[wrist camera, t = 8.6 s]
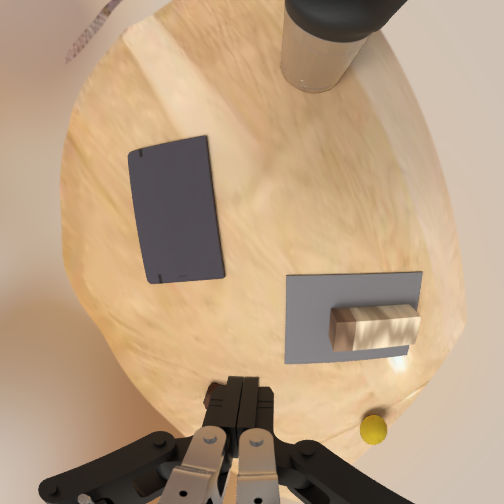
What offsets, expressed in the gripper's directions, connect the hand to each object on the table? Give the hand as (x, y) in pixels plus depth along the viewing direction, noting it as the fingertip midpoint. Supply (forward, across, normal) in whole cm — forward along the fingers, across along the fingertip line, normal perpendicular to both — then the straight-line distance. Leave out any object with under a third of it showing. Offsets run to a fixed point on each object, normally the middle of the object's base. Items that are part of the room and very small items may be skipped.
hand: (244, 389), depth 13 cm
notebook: (+32, +13, -6) cm, 35 cm away
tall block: (+28, -10, +12) cm, 32 cm away
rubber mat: (+31, -15, +12) cm, 36 cm away
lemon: (+31, -22, +36) cm, 52 cm away
